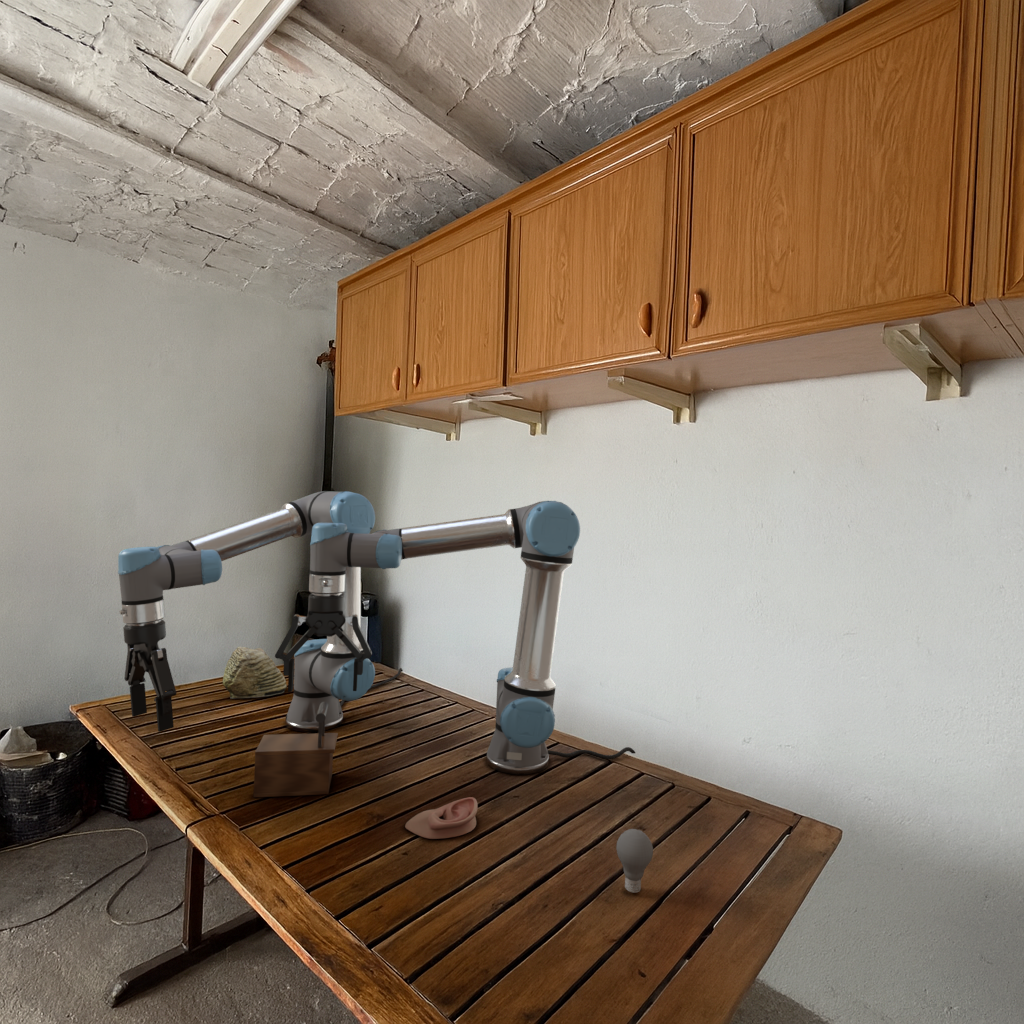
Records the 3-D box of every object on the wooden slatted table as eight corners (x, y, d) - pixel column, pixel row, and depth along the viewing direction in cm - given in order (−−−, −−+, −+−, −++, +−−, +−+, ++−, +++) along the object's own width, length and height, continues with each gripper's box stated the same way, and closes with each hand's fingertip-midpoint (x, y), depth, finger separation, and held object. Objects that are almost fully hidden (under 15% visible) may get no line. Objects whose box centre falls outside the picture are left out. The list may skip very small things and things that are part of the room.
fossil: (218, 695, 195) (220, 647, 195) (278, 685, 208) (279, 640, 207) (228, 703, 189) (230, 653, 188) (289, 692, 201) (290, 645, 201)
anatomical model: (399, 813, 120) (420, 787, 131) (398, 834, 120) (419, 806, 131) (467, 823, 117) (482, 796, 128) (466, 845, 117) (481, 815, 128)
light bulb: (610, 879, 108) (613, 822, 108) (644, 879, 109) (647, 822, 109) (619, 902, 102) (622, 840, 102) (655, 901, 103) (658, 840, 103)
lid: (337, 736, 144) (339, 700, 144) (334, 753, 135) (335, 714, 135) (263, 738, 141) (265, 701, 141) (255, 755, 132) (256, 716, 132)
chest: (332, 774, 144) (333, 736, 144) (328, 794, 135) (329, 753, 135) (262, 777, 142) (263, 738, 141) (253, 797, 132) (255, 756, 132)
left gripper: (102, 618, 136) (110, 714, 138) (149, 634, 120) (157, 742, 122) (140, 611, 142) (147, 703, 144) (189, 625, 126) (197, 729, 128)
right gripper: (263, 595, 132) (259, 696, 133) (384, 596, 137) (380, 694, 138) (269, 589, 140) (266, 685, 140) (384, 591, 145) (381, 683, 145)
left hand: (152, 721), depth 133 cm, fingers open, 13 cm apart
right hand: (323, 689), depth 139 cm, fingers open, 13 cm apart
